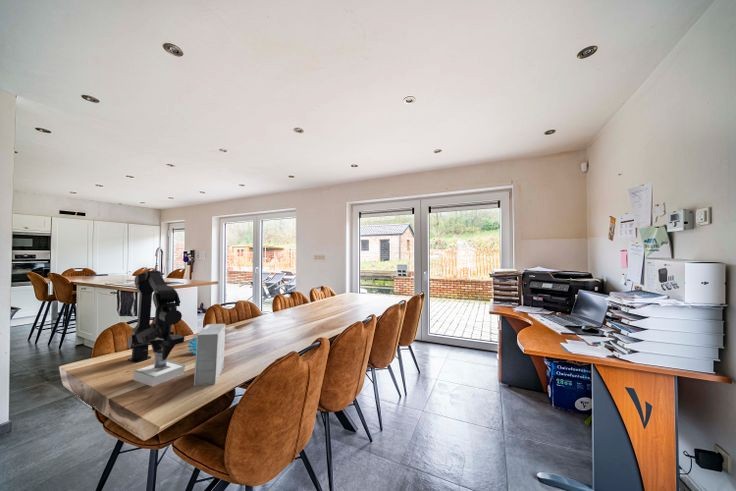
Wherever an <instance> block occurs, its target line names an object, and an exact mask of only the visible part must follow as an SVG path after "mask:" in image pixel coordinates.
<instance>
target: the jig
mask: <svg viewBox="0 0 736 491" xmlns="http://www.w3.org/2000/svg"><path fill="white" fill-rule="evenodd" d="M185 366H186V365H185V364H182V363H178V362H175V361H171V360H168V359H167V365H166V366H165V367H163V368H154V364H150V365H148V366H145V367H141V368H138V369H135V370H133V375H132V377H133V378H132V380H133V381H135V382H138V383H141V384H143V385H147V386H149V387H155V386H157V385H160V384H163V383H165V382H167V381H170V380H173V379H176V378H178V377H180V376H183V375H185V369H186V368H185Z"/></svg>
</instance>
